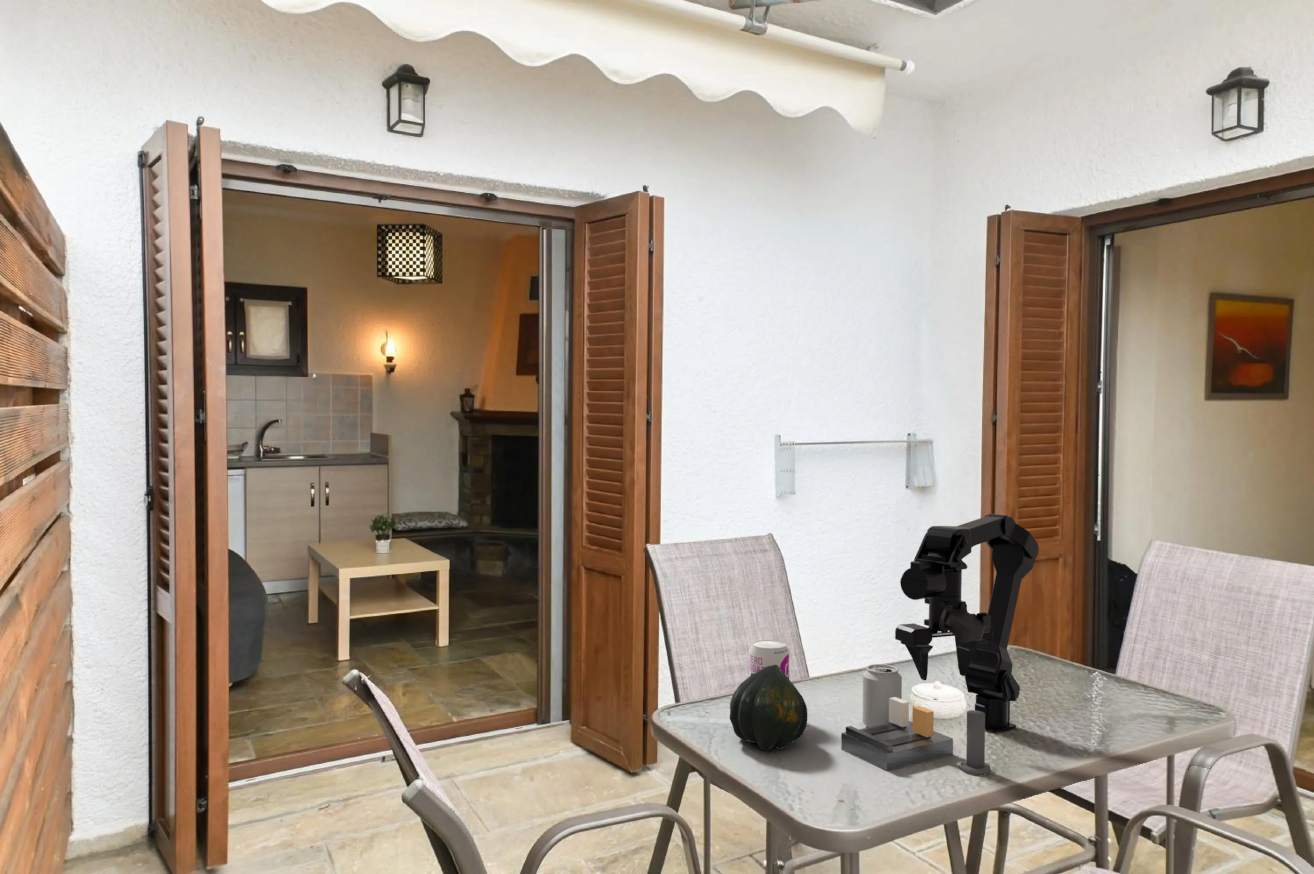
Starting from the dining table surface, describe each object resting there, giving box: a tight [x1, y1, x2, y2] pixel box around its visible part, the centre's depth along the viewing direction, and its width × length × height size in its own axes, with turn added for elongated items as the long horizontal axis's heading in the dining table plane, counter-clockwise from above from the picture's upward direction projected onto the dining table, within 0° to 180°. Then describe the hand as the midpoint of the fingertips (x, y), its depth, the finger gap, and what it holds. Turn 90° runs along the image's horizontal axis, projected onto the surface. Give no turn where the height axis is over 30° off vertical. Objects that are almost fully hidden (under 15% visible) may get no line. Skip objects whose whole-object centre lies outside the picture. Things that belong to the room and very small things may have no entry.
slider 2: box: [912, 705, 935, 737], centre depth 167 cm, size 2×4×4 cm, turn 29°
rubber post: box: [959, 709, 992, 776], centre depth 159 cm, size 5×5×10 cm
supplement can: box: [748, 639, 790, 680], centre depth 187 cm, size 8×8×15 cm
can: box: [862, 663, 903, 728], centre depth 181 cm, size 8×8×12 cm
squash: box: [729, 665, 808, 752], centre depth 172 cm, size 14×15×15 cm
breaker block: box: [840, 720, 954, 772], centre depth 167 cm, size 16×12×4 cm
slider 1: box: [889, 697, 910, 727], centre depth 173 cm, size 2×4×4 cm, turn 29°
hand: (943, 677), depth 170 cm, fingers open, 9 cm apart
